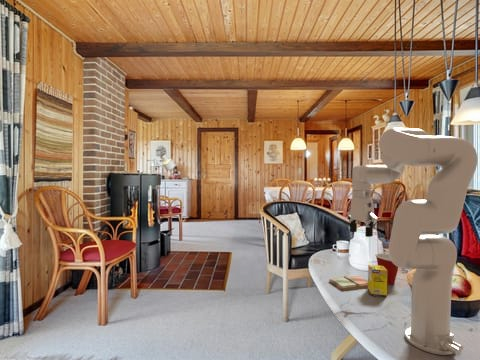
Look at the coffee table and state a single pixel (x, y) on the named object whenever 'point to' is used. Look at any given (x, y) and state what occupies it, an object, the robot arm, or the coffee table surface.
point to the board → (350, 283)
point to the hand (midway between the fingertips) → (360, 234)
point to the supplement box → (377, 280)
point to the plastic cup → (387, 267)
